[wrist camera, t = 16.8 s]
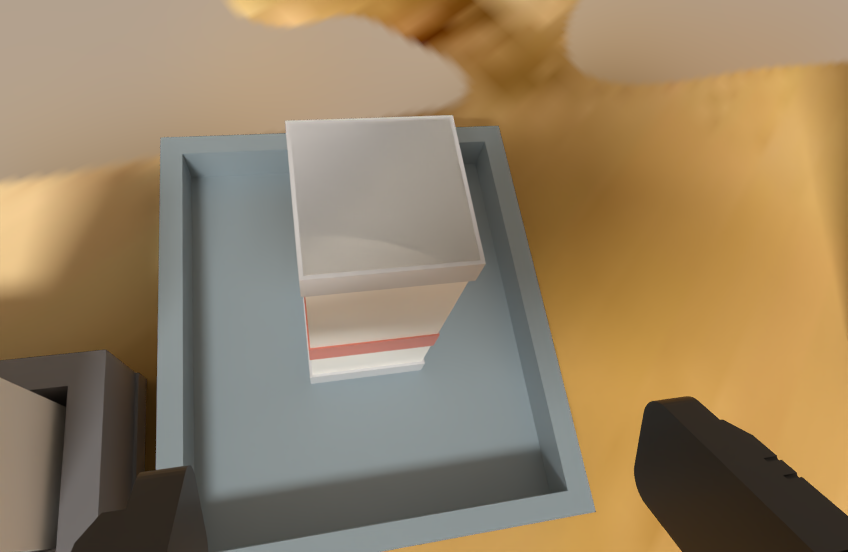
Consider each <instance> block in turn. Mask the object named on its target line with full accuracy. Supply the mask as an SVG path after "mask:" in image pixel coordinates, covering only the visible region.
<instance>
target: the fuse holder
mask: <svg viewBox="0 0 848 552" xmlns="http://www.w3.org/2000/svg"><path fill="white" fill-rule="evenodd" d="M0 378H2V379H4V380H7V381H9V382H11V383H13V384H16V385H18V386H20V387H22V388H24V389H27V390H29V391H31V392H33V393H36V394H38V395H40V396H42V397H45V398H47V399H49V400H51V401H54V402H56V403H58V404H60V405H62V406H65V407H66V420H65V434H64V448H63V461H62V475H61V489H60V503H59V516H58V530H57V544H56V552H71V550H72V548H73V545H74V543H75V542H76V541H77V540H78V538H79V537H80V536H81V535H82V534H83V533H84V532H85V531H86V530H87V528H88V527H89V526H90V525H91V524H92V523H93V522H94V521H95V519H96V518H97V517H98V516H99V515H100V514H101V513H103V512H110V511H116V510H123V509H126V506H127V503H128V500H129V497H130V495H131V492H132V489H133V486H134V483H135V480H136V478H137V476H138V474H139V473H140V472H145V433H146V386H147V379H146V378H145V377H144V376H142V375H141V374H140V373H135V372H134V371H133V370H131V369H130V368H129V367H128V366H126V365H125V364H124V363H122V362H121V361H120V360H119V359H117V358H116V357H115V356H114V355H112V354H111V353H110V352H109V351H107V350H97V351H87V352H78V353H68V354H58V355H49V356H39V357H29V358H20V359H10V360H0Z"/></svg>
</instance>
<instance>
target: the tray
mask: <svg viewBox="0 0 848 552" xmlns="http://www.w3.org/2000/svg"><path fill="white" fill-rule="evenodd" d="M456 132H457V136H458V141H459V145H460V150H461V154H462V159H463V163H464V168H465V172H466V177H467V181H468V186H469V190H470V195H471V199H472V204H473V208H474V213H475V217H476V222H477V226H478V231H479V236H480V240H481V245H482V249H483V254H484V258H485V263H486V264H485V266H484V268H483V269H482V271H481V273H480V274H479V276H478V277H477V279H476V281H468V283H467V285H466V286H465V288H464V290H463V292H462V293H461V295H460V297H459V298H458V300H457V302H456V304H455V305H454V307H453V309H452V310H451V312H450V314H449V316H448V317H447V319H446V321H445V322H444V324H443V326H442V327H441V329H440V331H439V334H440V335H439V337H438V339H437V340H436V342H435V344H434V345H433V346H430V348H429V350H428V351H427V353H426V355H425V357H424V362H425V364H424V366H423V367H422V369H421V370H418V371H410V372H402V373H394V374H386V375H378V376H370V377H362V378H354V379H346V380H338V381H330V382H323V383H315V384H311V381H310V371H309V360H308V349H307V338H306V327H305V316H304V304H303V297H301V294H300V285H299V275H298V264H297V252H296V241H295V230H294V218H293V207H292V196H291V184H290V173H289V162H288V150H287V139H286V133H279V134H250V135H223V136H193V137H166V138H165V137H164V138H161V145H160V213H159V283H158V352H157V422H156V470H159V469H166V468H173V467H180V466H187V465H191V466H192V468H193V470H194V473H195V478H196V483H197V488H198V493H199V499H200V504H201V509H202V514H203V519H204V524H205V530H206V535H207V542H208V552H382V551H387V550H393V549H398V548H403V547H409V546H414V545H420V544H425V543H430V542H436V541H441V540H446V539H452V538H457V537H463V536H468V535H473V534H479V533H484V532H490V531H495V530H500V529H506V528H511V527H516V526H522V525H527V524H533V523H538V522H543V521H549V520H554V519H559V518H565V517H570V516H576V515H581V514H586V513H592V512H596V511H595V507H594V503H593V499H592V495H591V491H590V487H589V483H588V479H587V475H586V471H585V467H584V463H583V459H582V455H581V451H580V447H579V443H578V439H577V435H576V431H575V427H574V424H573V420H572V416H571V412H570V408H569V404H568V400H567V396H566V392H565V388H564V384H563V380H562V376H561V372H560V368H559V364H558V360H557V356H556V352H555V348H554V344H553V340H552V336H551V332H550V328H549V324H548V320H547V316H546V312H545V308H544V304H543V300H542V296H541V292H540V288H539V284H538V280H537V276H536V272H535V269H534V265H533V261H532V257H531V253H530V249H529V245H528V241H527V237H526V233H525V229H524V225H523V221H522V217H521V213H520V209H519V205H518V201H517V197H516V193H515V189H514V185H513V181H512V177H511V173H510V169H509V165H508V161H507V157H506V153H505V149H504V145H503V141H502V137H501V133H500V129H499V126H479V127H456Z"/></svg>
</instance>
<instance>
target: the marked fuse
mask: <svg viewBox="0 0 848 552" xmlns="http://www.w3.org/2000/svg"><path fill="white" fill-rule="evenodd" d="M285 127H286V139H287V150H288V162H289V173H290V184H291V196H292V207H293V218H294V230H295V241H296V252H297V264H298V275H299V285H300V294H301V297H303V304H304V316H305V327H306V338H307V349H308V360H309V371H310V381H311V384H315V383H323V382H330V381H338V380H346V379H354V378H362V377H370V376H378V375H386V374H394V373H402V372H410V371H418V370H421V369H422V367H423V366H424V364H425V362H424V357H425V355H426V353H427V351H428V350H429V348H430V346H433V345H434V344H435V342H436V340H437V339H438V337H439V335H440V334H439V331H440V329H441V327H442V326H443V324H444V322H445V321H446V319H447V317H448V316H449V314H450V312H451V310H452V309H453V307H454V305H455V304H456V302H457V300H458V298H459V297H460V295H461V293H462V292H463V290H464V288H465V286H466V285H467V283H468V281H476V279H477V277H478V276H479V274H480V273H481V271H482V269H483V268H484V266H485V264H486V263H485V258H484V254H483V249H482V245H481V240H480V236H479V231H478V226H477V222H476V217H475V213H474V208H473V204H472V199H471V195H470V190H469V186H468V181H467V177H466V172H465V168H464V163H463V159H462V154H461V150H460V145H459V141H458V136H457V132H456V127H455V123H454V118H453V115H441V116H411V117H381V118H351V119H325V120H324V119H321V120H293V121H285Z"/></svg>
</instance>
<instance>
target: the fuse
mask: <svg viewBox="0 0 848 552" xmlns="http://www.w3.org/2000/svg"><path fill="white" fill-rule="evenodd" d="M65 420H66V407H65V406H62V405H60V404H58V403H56V402H54V401H51V400H49V399H47V398H45V397H42V396H40V395H38V394H36V393H33V392H31V391H29V390H27V389H24V388H22V387H20V386H18V385H16V384H13V383H11V382H9V381H7V380H4V379H2V378H0V552H56V544H57V530H58V516H59V503H60V489H61V475H62V461H63V448H64V434H65Z"/></svg>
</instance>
